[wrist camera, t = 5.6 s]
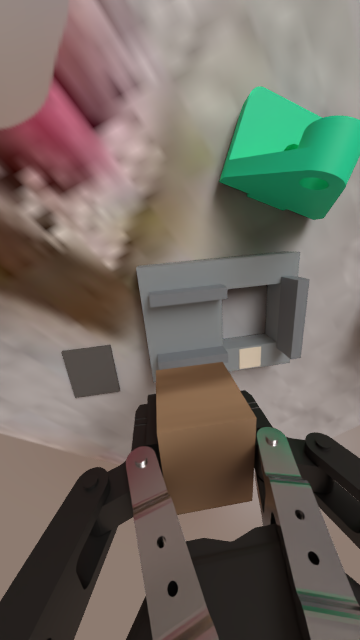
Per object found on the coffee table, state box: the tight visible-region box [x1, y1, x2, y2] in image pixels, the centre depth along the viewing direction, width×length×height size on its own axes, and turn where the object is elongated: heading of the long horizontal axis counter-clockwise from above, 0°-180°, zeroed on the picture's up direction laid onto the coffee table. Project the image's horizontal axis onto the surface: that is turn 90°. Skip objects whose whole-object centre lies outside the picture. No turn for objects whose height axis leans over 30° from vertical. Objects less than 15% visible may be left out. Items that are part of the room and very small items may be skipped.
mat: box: [62, 345, 120, 398], centre depth 28 cm, size 7×6×1 cm
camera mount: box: [219, 87, 360, 220], centre depth 19 cm, size 12×8×10 cm, turn 73°
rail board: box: [136, 251, 309, 382], centre depth 25 cm, size 14×18×6 cm
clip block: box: [156, 362, 257, 515], centre depth 11 cm, size 5×4×4 cm
